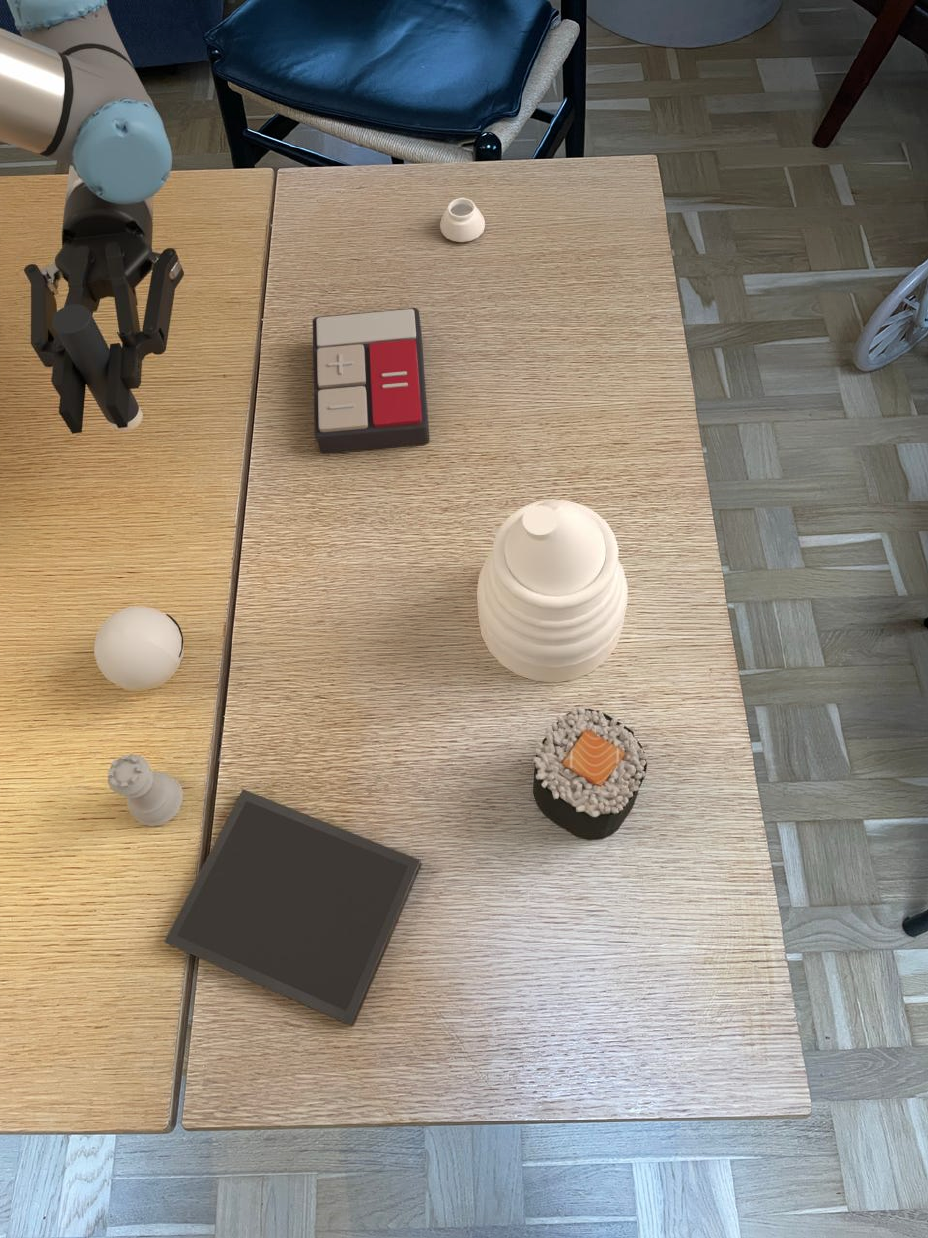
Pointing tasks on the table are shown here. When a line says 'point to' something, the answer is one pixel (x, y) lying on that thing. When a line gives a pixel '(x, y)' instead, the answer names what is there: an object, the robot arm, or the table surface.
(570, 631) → the honey pot
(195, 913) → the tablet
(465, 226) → the lidless jar
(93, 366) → the marker
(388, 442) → the calculator
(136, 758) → the rook chess piece
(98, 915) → the table surface
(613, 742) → the sushi
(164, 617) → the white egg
